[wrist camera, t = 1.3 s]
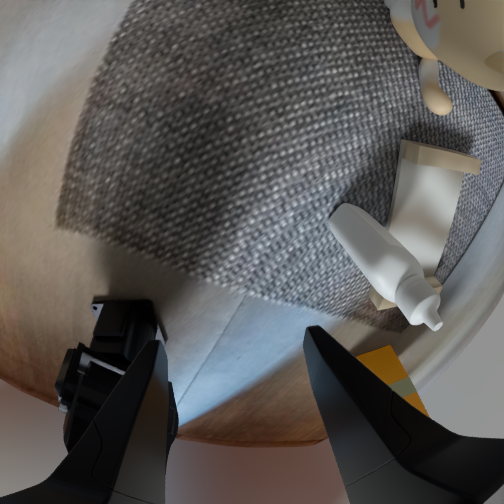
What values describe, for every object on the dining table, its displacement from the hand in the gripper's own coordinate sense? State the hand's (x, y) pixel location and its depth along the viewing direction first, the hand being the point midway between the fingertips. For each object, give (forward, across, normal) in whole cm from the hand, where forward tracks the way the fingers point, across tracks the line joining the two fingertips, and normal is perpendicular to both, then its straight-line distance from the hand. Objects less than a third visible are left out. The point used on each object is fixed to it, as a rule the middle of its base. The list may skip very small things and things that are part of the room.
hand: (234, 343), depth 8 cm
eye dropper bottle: (+13, -11, +3) cm, 17 cm away
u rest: (+13, -19, +3) cm, 23 cm away
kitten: (+13, -16, -16) cm, 26 cm away
